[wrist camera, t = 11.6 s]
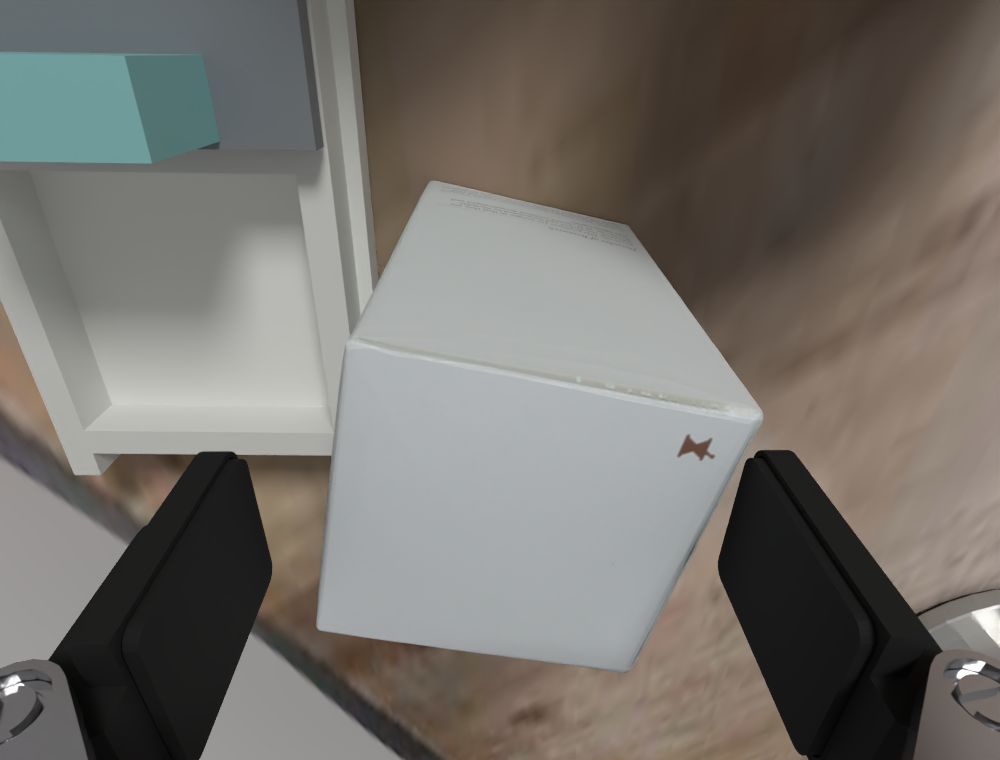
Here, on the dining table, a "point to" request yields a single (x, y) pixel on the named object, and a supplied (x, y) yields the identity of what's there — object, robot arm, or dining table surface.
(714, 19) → the dining table surface
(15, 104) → the gray and teal box
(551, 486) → the supplement box
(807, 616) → the robot arm
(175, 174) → the open white tray
